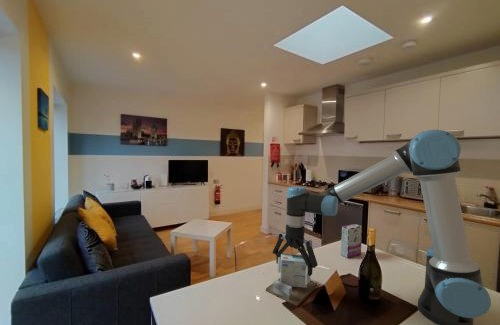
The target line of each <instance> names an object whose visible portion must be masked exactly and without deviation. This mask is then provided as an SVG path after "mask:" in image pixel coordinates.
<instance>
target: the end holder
mask: <svg viewBox="0 0 500 325" xmlns="http://www.w3.org/2000/svg"><path fill="white" fill-rule="evenodd" d="M318 284H319V283H318V282H315V281H313V280H311V279H310V282H309V283H308V284H307V288H305V287H293V286H289V285H287V284H284V283H282V282H280V278H278V279H275V280H274V281H273V283H271V284H270V285H268V286H267V287H266V288H265V292H267V293H269V294H271V295H273V296H276V297H278V298H279V299H282V300H284V301H286V302H288V303H289V304H291V305H294V306H296V307H299V305H300V304H301V303H302V302H303V301H304V300H306V298H307V297H308V296H310V294H311V293H312V292H313V291H314V290H315V289H316V288H317V287H318V286H319V285H318Z"/></svg>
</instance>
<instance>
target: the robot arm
mask: <svg viewBox="0 0 500 325" xmlns="http://www.w3.org/2000/svg"><path fill="white" fill-rule="evenodd" d="M461 147H462V146H461V143H460V142H459V139H457V137H456V136H455V135H453V134H452V133H450V132H448V131H447V130H443V129H427V130H425V131H421V132H419V133H418V134H416V135H415V136H414V137H412V138H411V139H410V140H409V141H408V142H407V143H405V144H404V145H402V146H401V147H398V149H395V150H394V151H393V154H391V155H390V156H388V157H386V158H383V160H380V161H379V162H377V163H374V164H373V165H371V166H369V167H367V168H365V169H364V170H362V171H360V172H358V173H356V174H354V175H352V176H350V177H348V179H347V178H346V179H345V180H343V181H341V182H338V183H337V184H336V185H335V184H334V186H331V187H330V188H328V189H324V190H323V191H322V192H320V193H319V194H318V193H310V192H308V191H307V188H306V187H304V186H294V185H293V186H289V187H288V189H287V192H286V193H287V194H286V212H285V213H286V216H285V232H280V233H279V234H278V239H277V241H276V243H275V246H274V247H273V250H272V255H273V254H274V255H275V256H276V260H275V261H276V264H277V272H276V273H278V274H280V263H281V253H283V254H284V253H285V251H286V250H287V249H288V248H289V247H290V248H293V249H295V250H297V251H298V252H299V253H300V255H302V257H303V259H304V261H305V263H306V264H307V267H306V272H305V284H308V283H309V282H310V280H311V276H312V275H313V269H315V268H316V267H317V266H318V265H319V264H318V261H317V259H316V255H315V252H314V249H313V248H314V247H313V241H312V240H311V239H310V240H308V239H307V240H306V239H305V225H306V213H309V214H315V215H316V214H317V215H321V216H322V215H323V216H326V217H328V216H329V217H331V216H332V217H335V216H337V214H338V210H339V205H340V204H343V203H344V202H346V201H348V200H350V199H352V198H355V197H357V196H359V195H361V194H363V193H365V192H367V191H369V190H371V189H373V188H376V187H377V186H379V185H382V184H384V183H385V182H388V181H389V180H392V179H394V178H396V177H398V176H400V175H403V174H404V173H409V174H411V173H412V176H413V177H414V178H415V179H417V180H418V181H419V184H420V187H421V193H422V199H423V204H424V209H425V215H426V221H427V225H428V231H429V237H430V243H431V247H430V248H427V252H426V254H425V257H426V261H425V262H426V263H425V275H424V278H425V279H424V287H423V289H422V291H421V293H420V295H419V297H418V298H417V310H418V311H419V312H420V313H421V314H422V316H424V317H425V318H426V319H428V320H430V321H431V322H433V323H435V324H437V325H439V324H440V325H474V319H475V318H479V317H482V316H484V315H485V314H487V313H488V312H489V311H490V309H491V307H492V301H491V297H490V294H489V291H488V290H487V289H486V288H485V287H484V282H483V278H482V272H481V269H480V265H479V263H478V262H476V261H474V260H473V259H472V257H471V253H470V249H469V243H468V238H467V233H466V227H465V221H464V217H463V211H462V206H461V202H460V197H459V196H460V195H459V192H458V185H457V180H456V178H457V176H458V175H459V174H460V173H461V172H462V171H461V165H460V161H459V160H460V159H459V158H460V156H461V151H462V149H461ZM284 239H285V241H286V242H285V243H284V244H283V241H284ZM282 244H283V246H282ZM281 246H282V247H281Z"/></svg>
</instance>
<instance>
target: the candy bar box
mask: <svg viewBox="0 0 500 325" xmlns="http://www.w3.org/2000/svg"><path fill="white" fill-rule="evenodd" d="M362 230H363V225H359V224H356V223H353V224H349V225H348V224H347V225H343V226H341V242H340V246H341V247H340V256H341V257H343V258H346V259H351V258H354V257H357V256H361V254H362V236H363V235H362V233H363V231H362Z"/></svg>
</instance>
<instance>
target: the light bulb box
mask: <svg viewBox="0 0 500 325" xmlns="http://www.w3.org/2000/svg"><path fill="white" fill-rule="evenodd" d="M306 267H307V264H306V263H305V261H304V259H303V257H302V255H301V254H297V253H296V254H295V253H284V252H283V253H281V263H280V273H279V274H280V277H279V279H280V282H282V283H284V284H287V285H289V286H293V287H305V288H307V284H305V272H306Z"/></svg>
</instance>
